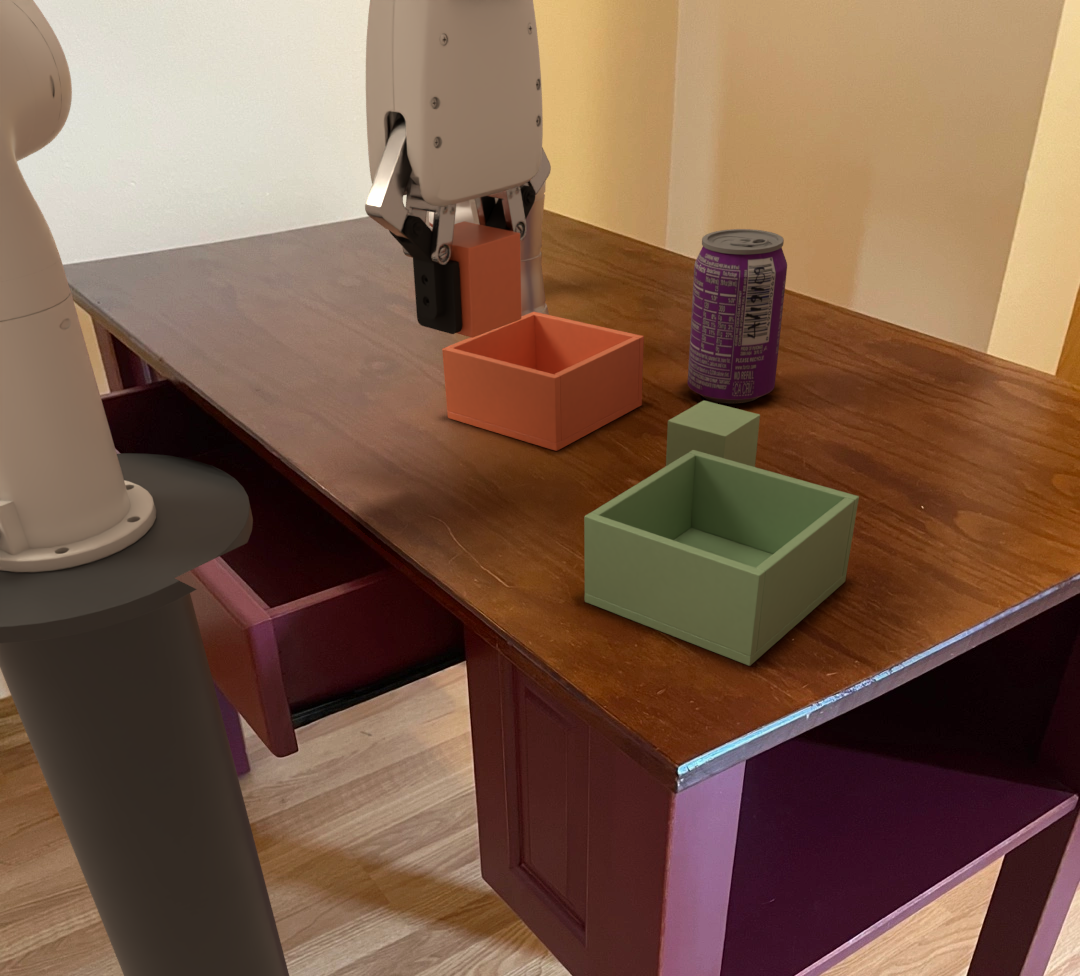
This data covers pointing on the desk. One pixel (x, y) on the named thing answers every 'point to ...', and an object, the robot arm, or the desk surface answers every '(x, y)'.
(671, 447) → the sage block
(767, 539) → the sage bin
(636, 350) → the coral bin
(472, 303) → the coral block
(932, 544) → the desk surface
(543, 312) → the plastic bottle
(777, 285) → the beverage can
